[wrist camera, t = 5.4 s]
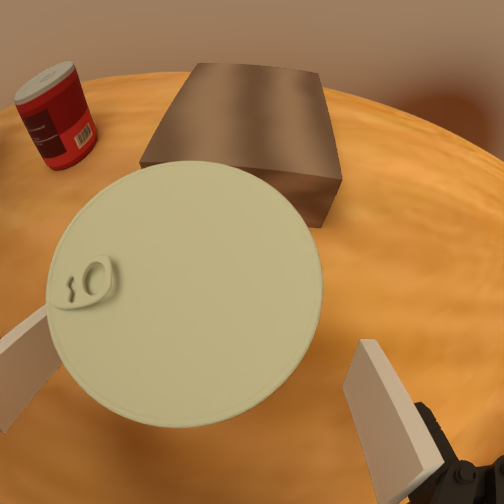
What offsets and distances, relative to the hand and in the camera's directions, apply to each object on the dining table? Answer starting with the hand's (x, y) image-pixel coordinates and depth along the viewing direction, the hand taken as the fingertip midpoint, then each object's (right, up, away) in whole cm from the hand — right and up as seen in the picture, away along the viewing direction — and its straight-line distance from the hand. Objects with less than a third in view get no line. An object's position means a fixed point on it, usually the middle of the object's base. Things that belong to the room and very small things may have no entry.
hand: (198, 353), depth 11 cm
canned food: (-20, +17, +16) cm, 31 cm away
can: (-1, -2, +7) cm, 8 cm away
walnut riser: (+2, +15, +16) cm, 22 cm away
